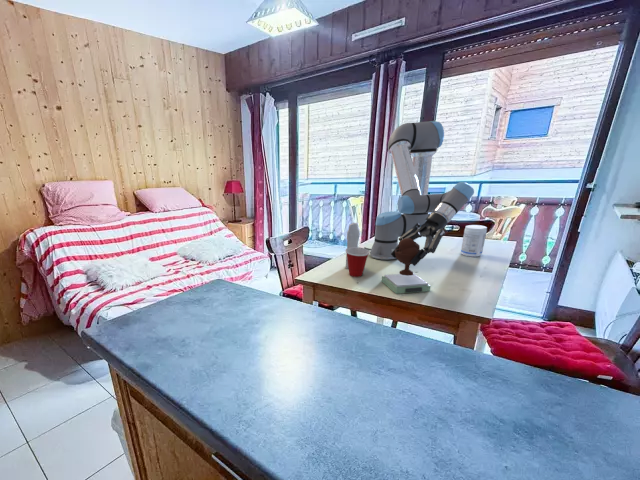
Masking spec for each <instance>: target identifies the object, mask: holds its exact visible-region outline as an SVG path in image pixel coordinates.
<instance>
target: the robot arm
mask: <svg viewBox="0 0 640 480" xmlns="http://www.w3.org/2000/svg"><path fill="white" fill-rule="evenodd" d="M444 140H445V129H444V126H443V124H442V123H441V122H440V121H431V120H429V121H418V122H406V123H401V124H400V125H399V126H397V127H396V128H395V129H394V131H392V133H391V135H390V137H389V139H388V143H387V150H388V155H389V156H390V157H392V161H393V166H394V170H395V175H396V179H397V182H398V186H399V191H400V196H399V198H398V199H397V204H396V205H397V210H395V211H394V210H392V211H385V212H381V213H378V215H377V216H376V220H375V227H374V229H375V232H374V242H373V244H372V247H371V248H369V247H365V246H364V247H363V248H364V249H367V250H369V251H370V253H369V257H370V258H371V259H375V260H379V261H394V260H398V259H397V258H396V256H395V250H396V249H399V246H398V244H399V242H400V241H401V240H402V239H404V238H411V239H412V240H414V241H416V239H418V238H425V242H424V246H423V247H422V248H420V251H419V252H418V253H417V254H416V256H415V257H414V258H413V259H412V260H411V261H410V262H411V263H412V264H411V265H413V266H414V267H416V266H417V265H418V264H419V262H420V261H422V260H423V259H424V258H425V257H426V256H427V255H428V254H430V253H431V254H435V253H436V250H437V248H438V246H439V244H440V242H441V241H442V238H443V237H444V236H445V234H446V232H445V230H444V229H445V227H446V226H447V225H448V223H450V222H451V220H452V219H454V217H455V216H456V215H457V214H458V212H460V210H462V208H463V207H464V206H465V205H466V204H467V203H468V202H469V201H470V199H471V198H472V197H473V195H474V194H475V189H474V187H473V186H472V185H470V184H469V183H467V182H463V181H460V182H457V183H456V184H455V185H454V186H453V187H452V188H451V189H450V190H448V191H446V192H443V193H435V194H434V193H432V194H428V193H429V186H430V178H431V170H432V164H433V163H432V162H433V156H434V155H435V154H436V153H437V152H438V151H437V150H438V149H439V148H441V147H442V145H443V142H444Z"/></svg>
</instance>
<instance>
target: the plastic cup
mask: <svg viewBox="0 0 640 480" xmlns="http://www.w3.org/2000/svg"><path fill="white" fill-rule="evenodd" d="M344 251H345V252H346V253H347V260H348V274H349V276H351V277H354V278H360V277H362V276H363V274H364V270H365V267H366V263H367V259H368V257H369V256H370V251H371V250H367V249H365V248H364V247H359V246H358V247H351V248H347V247H346V249H345V250H344Z"/></svg>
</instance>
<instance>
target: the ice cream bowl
mask: <svg viewBox="0 0 640 480" xmlns="http://www.w3.org/2000/svg"><path fill="white" fill-rule="evenodd" d="M398 246H399V249H396V250H395V256H396V258H397V259H396V260H397V261H398V262H399V263H401V264H404V268H403V269H401V270H399V273H398V274H401V275H406V276H409V275H413V273H414V271H413V270H411V269H410V266H411V265H413V264H412V263H411V262H410V261H411V260H412V259H413V258H414V257H415V256H416V254H417V253H418V252H419V251H420V250H421V247H420V244H419V243H418V242H417V241H415V240H412V239H411V238H404V239H402V240H401V241H398Z"/></svg>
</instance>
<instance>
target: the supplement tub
mask: <svg viewBox="0 0 640 480" xmlns="http://www.w3.org/2000/svg"><path fill="white" fill-rule="evenodd" d="M487 232H488V227H487V226H485V225H480V224H469V225H465V228H464V230H463V236H462V241H461V248H460V254H461V255H463V256H465V257H473V258H475V257H481V256H482V255H483V251H484V247H485V242H486V237H487Z"/></svg>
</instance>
